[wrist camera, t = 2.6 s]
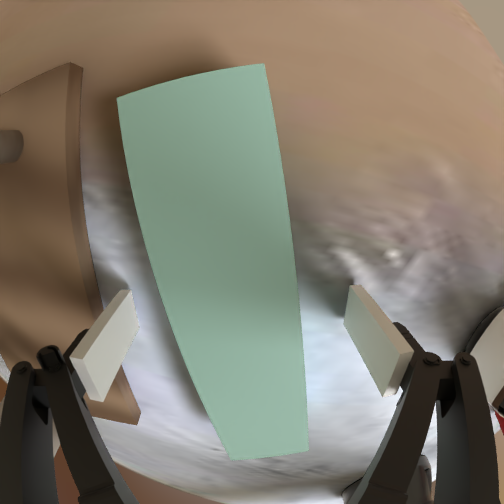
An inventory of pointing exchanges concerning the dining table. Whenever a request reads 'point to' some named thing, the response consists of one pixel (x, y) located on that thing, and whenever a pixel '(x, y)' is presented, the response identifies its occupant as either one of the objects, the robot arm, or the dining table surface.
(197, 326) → the shelf board
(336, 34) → the dining table surface
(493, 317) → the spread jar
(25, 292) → the peg rack
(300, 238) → the dining table surface
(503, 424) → the plastic cup
